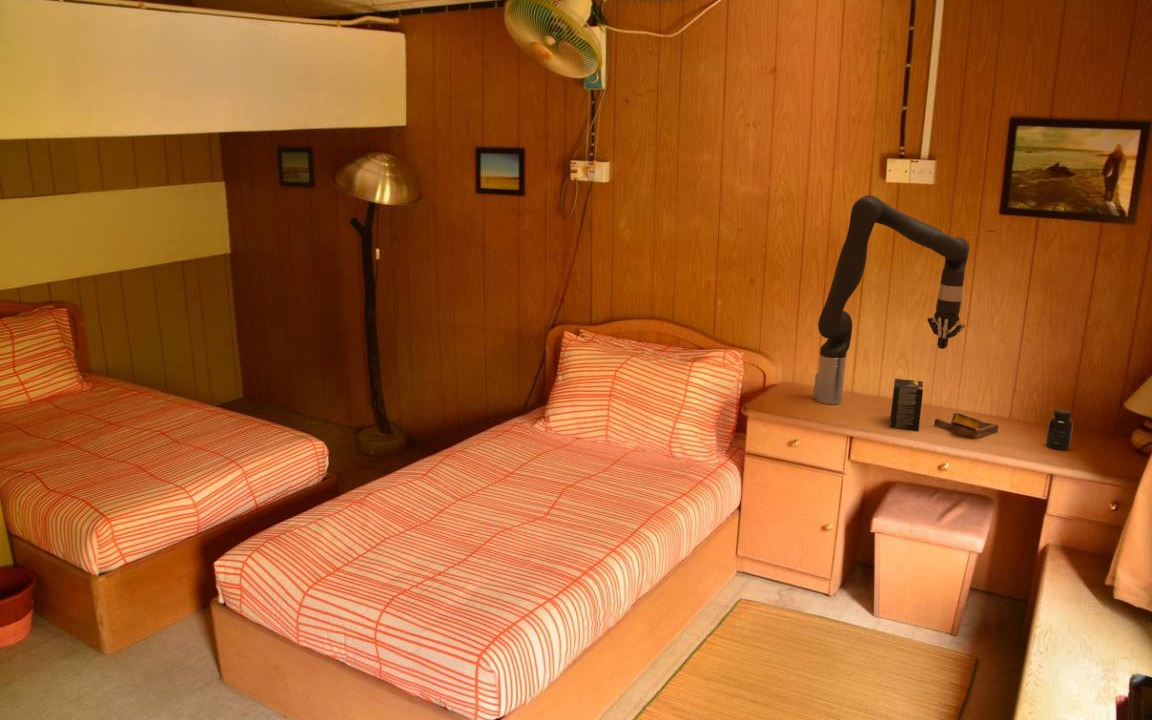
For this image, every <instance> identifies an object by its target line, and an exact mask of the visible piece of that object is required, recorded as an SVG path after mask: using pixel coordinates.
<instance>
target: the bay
mask: <svg viewBox="0 0 1152 720" xmlns="http://www.w3.org/2000/svg"><path fill="white" fill-rule="evenodd" d="M956 414H958V412H955V413H953V415H952V417H953V416H954V415H956ZM967 416H968V417H971V418H974V419H977V420H980V423H979V426H978V428H977V429H976V430H975V429H971V428H968V427H965V426H961V425H958V424H955V423H951V422H952V421H951V422H950V421H948V420H944V419H941V418H935V419H934V423H933V425H934V427H937V428H940V429H943V430H946V431H950V432H953V433H956V434H959V435H963V436H965V435H966V437H969V438H972V439H975V438H976V440H979V439H982V438H984V437H988V436H990V435H993V434H996V433H998V431H999V424H997V423H992V422H990V421H986V420H982V419H980V418H979V419H978V418H975V417H972V416H969V415H967ZM981 437H982V438H981ZM978 438H979V439H978Z"/></svg>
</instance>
